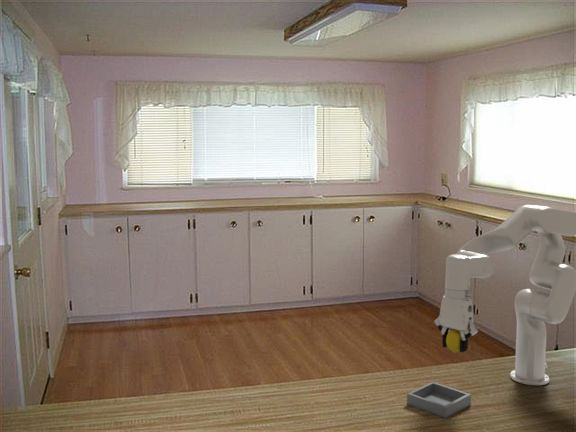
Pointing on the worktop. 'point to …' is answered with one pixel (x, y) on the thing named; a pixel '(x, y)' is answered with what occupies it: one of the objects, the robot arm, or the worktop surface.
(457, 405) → the box
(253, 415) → the worktop surface
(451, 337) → the lemon
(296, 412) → the worktop surface
